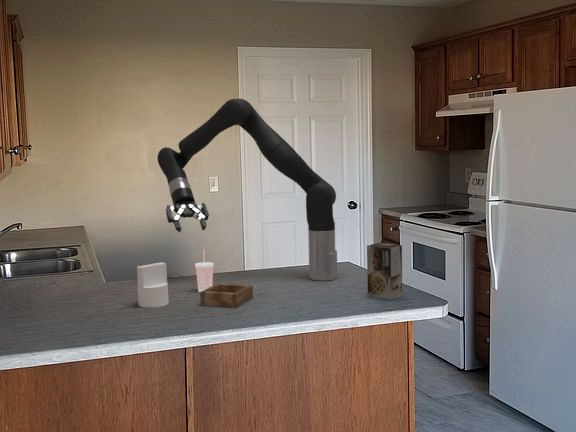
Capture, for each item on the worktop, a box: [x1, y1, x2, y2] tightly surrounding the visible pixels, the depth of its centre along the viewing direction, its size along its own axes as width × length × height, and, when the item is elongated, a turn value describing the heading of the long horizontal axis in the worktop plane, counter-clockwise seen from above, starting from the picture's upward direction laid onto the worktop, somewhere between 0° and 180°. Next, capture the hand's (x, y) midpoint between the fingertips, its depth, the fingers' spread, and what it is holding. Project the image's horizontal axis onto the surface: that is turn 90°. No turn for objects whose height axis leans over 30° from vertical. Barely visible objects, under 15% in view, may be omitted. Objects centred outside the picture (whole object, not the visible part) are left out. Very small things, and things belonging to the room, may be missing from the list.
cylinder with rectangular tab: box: [136, 261, 169, 308], centre depth 200 cm, size 9×9×12 cm
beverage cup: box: [194, 248, 215, 293], centre depth 215 cm, size 6×6×14 cm
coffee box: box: [366, 242, 403, 301], centre depth 202 cm, size 9×6×16 cm
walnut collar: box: [199, 282, 254, 309], centre depth 201 cm, size 12×12×4 cm
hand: (192, 229), depth 224 cm, fingers open, 8 cm apart
